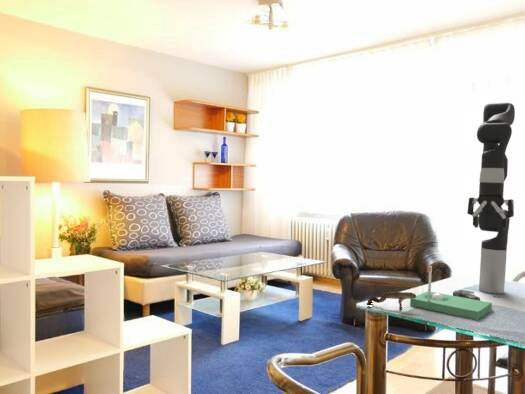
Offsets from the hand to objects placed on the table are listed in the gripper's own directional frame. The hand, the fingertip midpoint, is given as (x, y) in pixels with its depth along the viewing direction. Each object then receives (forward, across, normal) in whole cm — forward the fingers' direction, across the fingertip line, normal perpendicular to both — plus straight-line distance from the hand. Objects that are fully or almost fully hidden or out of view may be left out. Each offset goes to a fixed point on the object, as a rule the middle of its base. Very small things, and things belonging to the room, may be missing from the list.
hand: (489, 228), depth 162 cm
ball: (+26, +13, +10) cm, 30 cm away
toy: (+28, +22, +26) cm, 44 cm away
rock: (+28, +8, -4) cm, 29 cm away
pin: (+25, +13, +18) cm, 34 cm away
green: (+27, +8, +10) cm, 30 cm away
